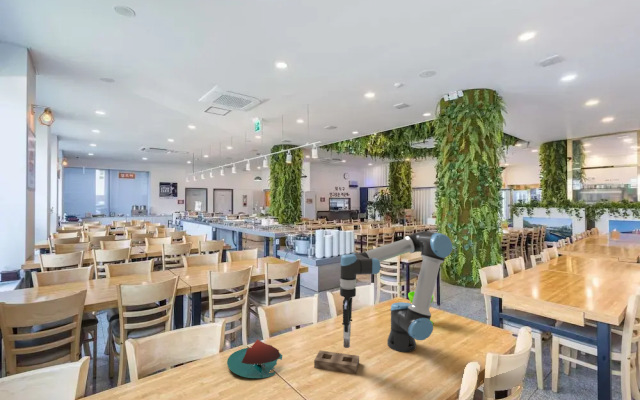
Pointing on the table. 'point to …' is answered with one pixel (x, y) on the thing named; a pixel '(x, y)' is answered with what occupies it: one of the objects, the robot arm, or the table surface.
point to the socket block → (337, 362)
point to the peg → (347, 340)
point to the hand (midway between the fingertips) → (346, 336)
